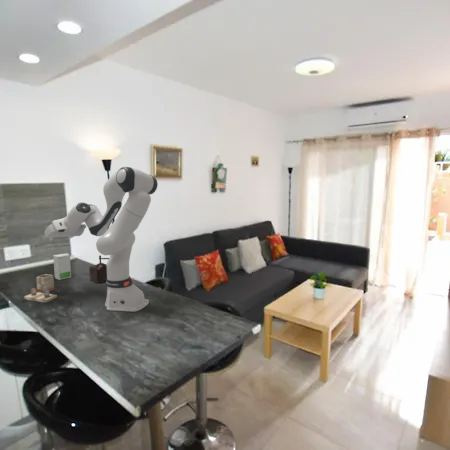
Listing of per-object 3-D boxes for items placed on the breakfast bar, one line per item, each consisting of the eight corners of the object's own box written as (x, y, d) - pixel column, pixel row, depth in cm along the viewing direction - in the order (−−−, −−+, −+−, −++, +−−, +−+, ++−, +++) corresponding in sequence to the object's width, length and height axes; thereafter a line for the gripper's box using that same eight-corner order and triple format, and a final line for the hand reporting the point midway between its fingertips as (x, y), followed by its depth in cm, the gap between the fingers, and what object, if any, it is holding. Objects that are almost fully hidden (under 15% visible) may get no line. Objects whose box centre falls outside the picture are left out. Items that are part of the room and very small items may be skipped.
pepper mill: (98, 284, 185) (97, 256, 182) (89, 280, 191) (87, 253, 189) (120, 278, 197) (119, 251, 194) (111, 274, 204) (110, 249, 201)
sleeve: (54, 289, 175) (53, 275, 173) (45, 293, 169) (44, 278, 167) (46, 288, 176) (44, 274, 175) (37, 292, 170) (35, 277, 169)
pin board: (56, 297, 163) (56, 288, 162) (46, 302, 156) (45, 293, 156) (35, 294, 167) (34, 285, 166) (24, 299, 160) (23, 289, 160)
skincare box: (58, 280, 191) (57, 256, 188) (54, 278, 194) (52, 255, 192) (71, 277, 197) (70, 254, 195) (67, 275, 201) (65, 252, 199)
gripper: (85, 220, 172) (74, 233, 178) (49, 220, 155) (38, 235, 161) (89, 228, 170) (78, 242, 176) (53, 230, 153) (42, 245, 159)
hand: (59, 239), depth 168 cm, fingers open, 8 cm apart
